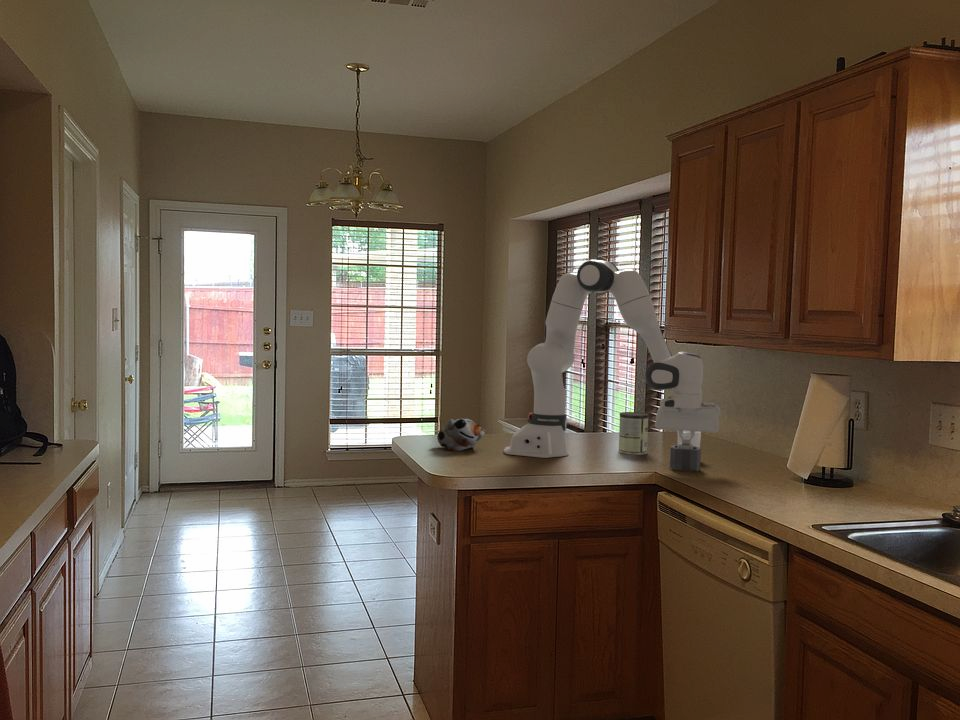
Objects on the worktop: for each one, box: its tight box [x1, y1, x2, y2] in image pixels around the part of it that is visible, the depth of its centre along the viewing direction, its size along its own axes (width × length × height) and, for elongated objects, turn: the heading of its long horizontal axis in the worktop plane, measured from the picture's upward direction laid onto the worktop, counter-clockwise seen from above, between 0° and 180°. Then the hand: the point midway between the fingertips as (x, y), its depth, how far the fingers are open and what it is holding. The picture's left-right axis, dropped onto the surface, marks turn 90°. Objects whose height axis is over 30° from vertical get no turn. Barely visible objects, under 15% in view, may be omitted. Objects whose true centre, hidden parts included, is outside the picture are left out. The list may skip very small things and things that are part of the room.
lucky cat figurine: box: [436, 418, 486, 452], centre depth 297 cm, size 15×12×14 cm
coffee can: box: [618, 411, 650, 456], centre depth 302 cm, size 10×10×14 cm
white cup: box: [677, 431, 702, 448], centre depth 290 cm, size 8×8×10 cm
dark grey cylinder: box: [669, 444, 702, 472], centre depth 273 cm, size 9×9×7 cm
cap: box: [676, 442, 693, 449], centre depth 272 cm, size 5×5×4 cm
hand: (685, 444), depth 272 cm, fingers closed, pressing on cap
